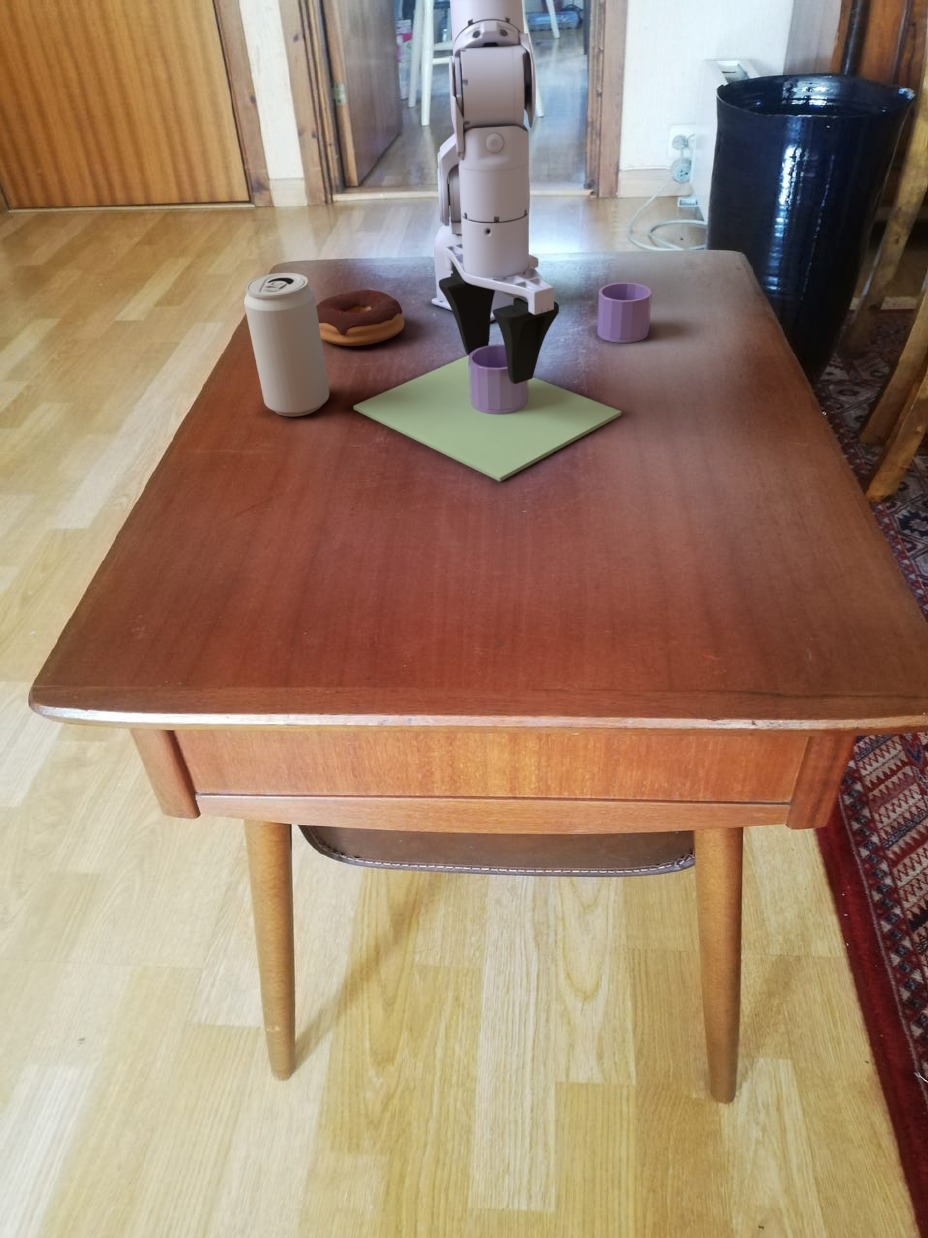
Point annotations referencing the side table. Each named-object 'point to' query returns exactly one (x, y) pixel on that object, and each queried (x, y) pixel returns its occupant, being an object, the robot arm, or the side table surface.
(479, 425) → the placemat
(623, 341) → the faceted lilac cup
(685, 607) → the side table surface
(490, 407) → the purple plastic cup
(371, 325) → the donut
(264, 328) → the beverage can
